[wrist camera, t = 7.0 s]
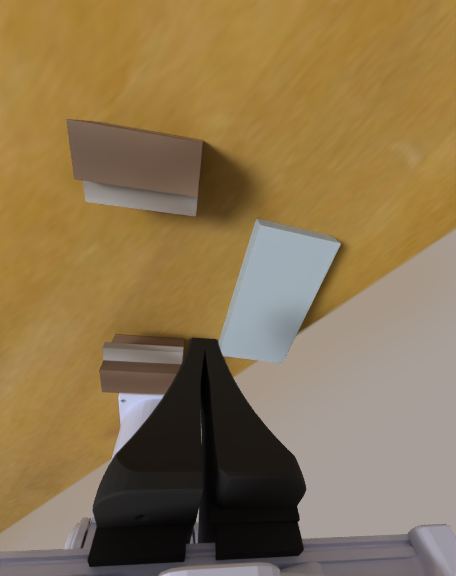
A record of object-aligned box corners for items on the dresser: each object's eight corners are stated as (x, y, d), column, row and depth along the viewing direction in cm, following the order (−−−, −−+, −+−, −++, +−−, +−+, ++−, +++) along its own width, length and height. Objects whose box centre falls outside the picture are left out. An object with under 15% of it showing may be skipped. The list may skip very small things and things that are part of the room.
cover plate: (277, 348, 26) (282, 363, 24) (218, 339, 25) (219, 355, 23) (329, 233, 20) (341, 243, 18) (255, 216, 19) (260, 225, 17)
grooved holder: (182, 358, 25) (178, 395, 22) (116, 355, 24) (102, 392, 21) (203, 140, 16) (202, 142, 12) (98, 121, 15) (66, 119, 11)
